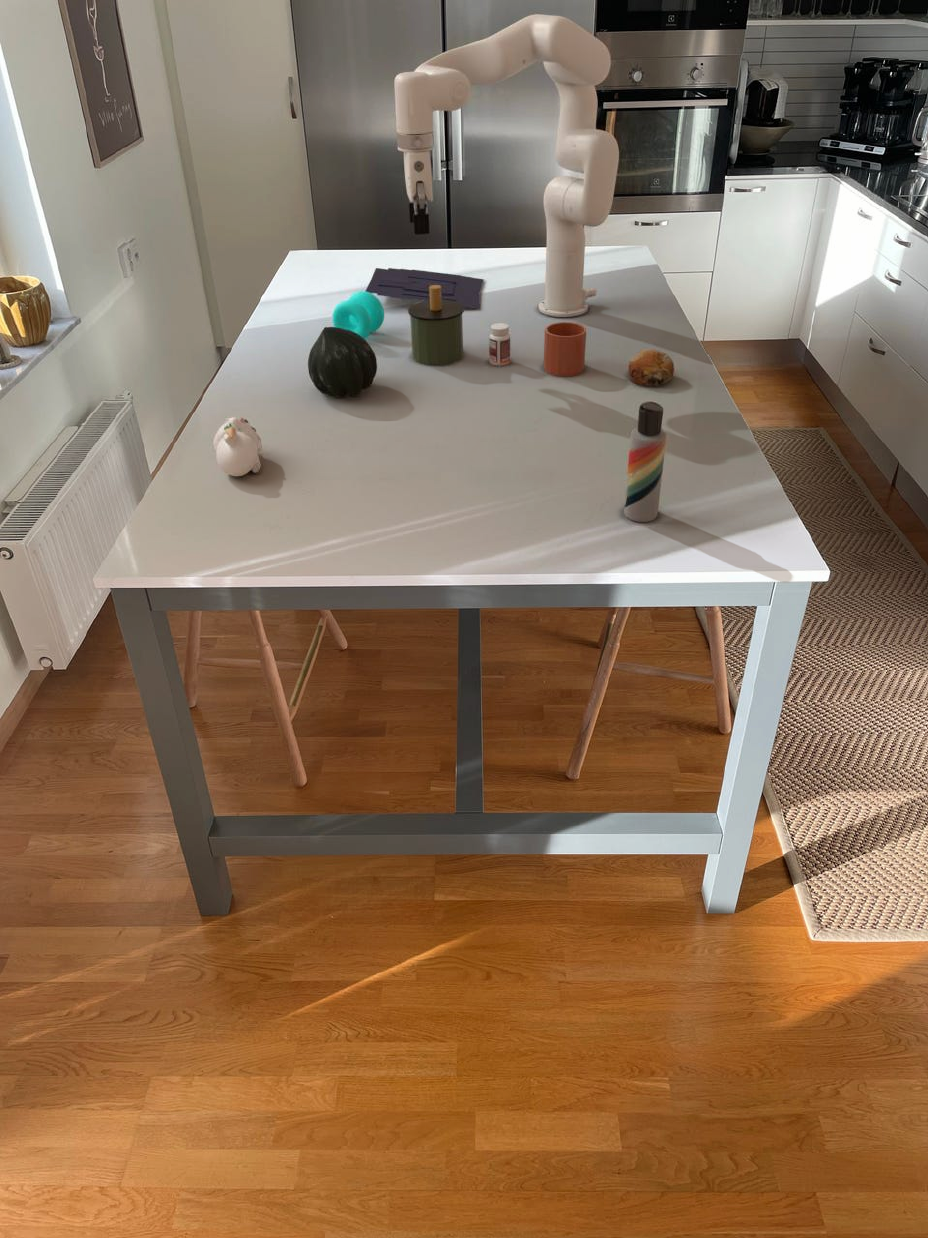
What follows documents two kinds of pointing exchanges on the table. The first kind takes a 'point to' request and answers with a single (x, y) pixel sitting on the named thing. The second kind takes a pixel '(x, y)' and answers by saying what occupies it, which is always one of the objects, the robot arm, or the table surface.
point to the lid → (435, 307)
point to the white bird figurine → (237, 447)
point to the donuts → (359, 314)
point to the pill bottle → (499, 344)
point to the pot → (437, 341)
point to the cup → (564, 349)
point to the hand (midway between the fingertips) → (419, 227)
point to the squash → (341, 363)
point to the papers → (425, 285)
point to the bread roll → (651, 368)
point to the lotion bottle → (645, 464)
